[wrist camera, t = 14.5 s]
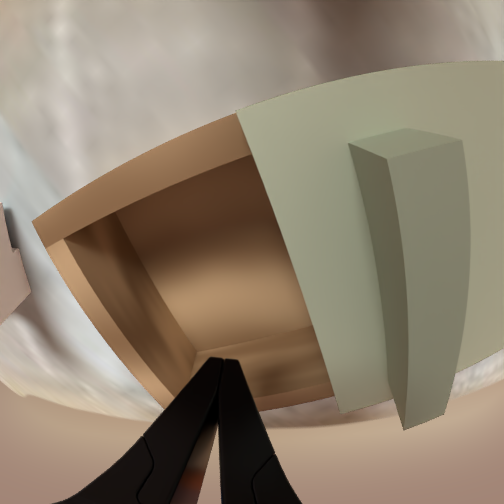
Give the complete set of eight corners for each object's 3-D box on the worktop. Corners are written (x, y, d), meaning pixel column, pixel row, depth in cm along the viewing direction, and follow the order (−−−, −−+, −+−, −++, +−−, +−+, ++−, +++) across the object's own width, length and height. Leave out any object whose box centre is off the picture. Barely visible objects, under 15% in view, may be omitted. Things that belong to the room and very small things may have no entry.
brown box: (93, 185, 13) (31, 221, 9) (489, 66, 9) (553, 66, 4) (197, 364, 18) (182, 427, 14) (505, 267, 14) (547, 309, 10)
